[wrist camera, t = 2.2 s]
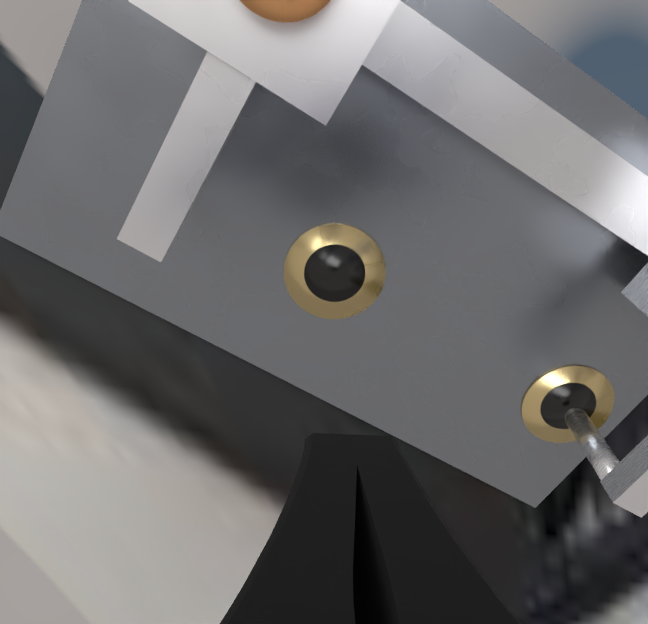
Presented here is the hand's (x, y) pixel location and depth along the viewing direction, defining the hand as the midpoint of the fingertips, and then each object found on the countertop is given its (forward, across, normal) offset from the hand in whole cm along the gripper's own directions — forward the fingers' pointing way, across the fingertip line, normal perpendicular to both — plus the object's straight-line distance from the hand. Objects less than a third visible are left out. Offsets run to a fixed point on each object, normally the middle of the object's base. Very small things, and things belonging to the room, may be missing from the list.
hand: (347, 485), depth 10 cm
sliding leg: (+9, +2, -6) cm, 11 cm away
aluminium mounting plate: (+10, -2, -1) cm, 10 cm away
